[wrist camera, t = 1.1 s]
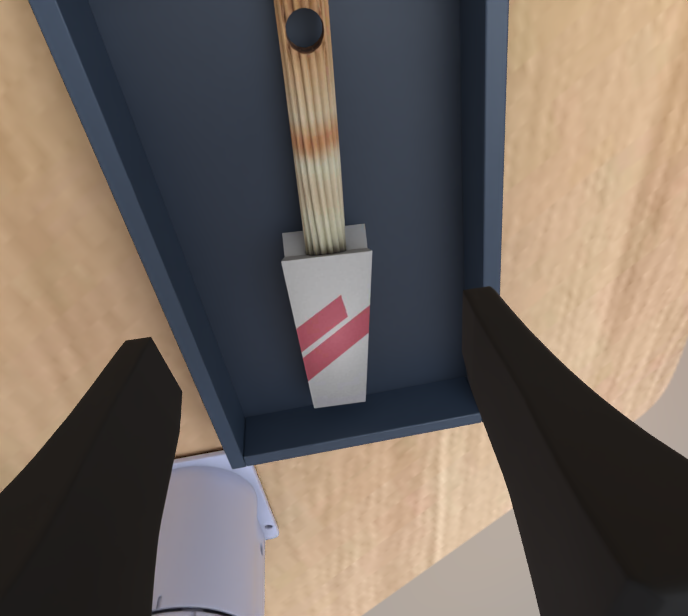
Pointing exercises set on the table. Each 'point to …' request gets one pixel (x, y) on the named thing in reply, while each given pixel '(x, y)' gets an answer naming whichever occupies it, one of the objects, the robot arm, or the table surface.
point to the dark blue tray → (283, 200)
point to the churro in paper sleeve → (323, 227)
